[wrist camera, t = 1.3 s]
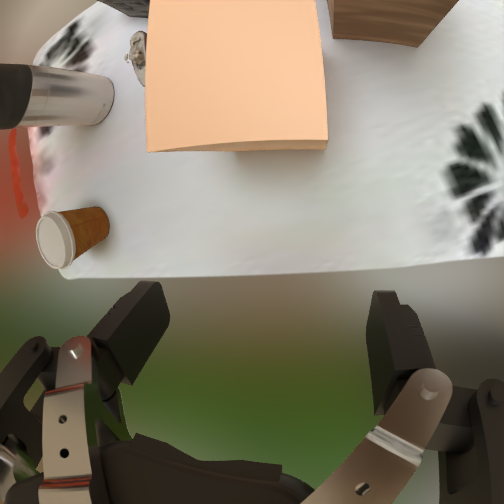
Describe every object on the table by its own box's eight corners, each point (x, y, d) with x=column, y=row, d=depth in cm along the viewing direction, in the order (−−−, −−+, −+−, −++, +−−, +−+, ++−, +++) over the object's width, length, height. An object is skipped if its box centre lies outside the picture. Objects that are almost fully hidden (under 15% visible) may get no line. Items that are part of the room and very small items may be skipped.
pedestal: (325, 149, 33) (327, 139, 15) (234, 151, 36) (147, 152, 18) (319, 50, 29) (307, -39, 10) (230, 57, 31) (151, -7, 13)
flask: (190, 92, 35) (148, 77, 25) (173, 101, 36) (128, 90, 26) (175, 45, 32) (134, 22, 23) (159, 54, 33) (116, 35, 23)
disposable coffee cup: (86, 246, 49) (41, 268, 38) (78, 199, 45) (30, 214, 34) (119, 249, 46) (73, 275, 35) (112, 196, 43) (60, 211, 32)
